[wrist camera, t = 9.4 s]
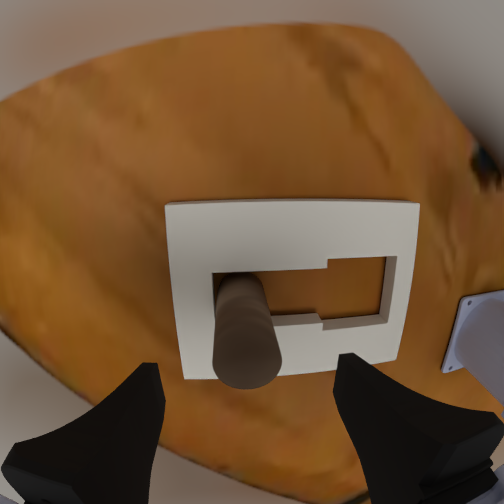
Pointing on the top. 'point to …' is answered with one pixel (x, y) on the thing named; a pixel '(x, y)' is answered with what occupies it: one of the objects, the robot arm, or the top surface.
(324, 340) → the keyhole plate
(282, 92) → the top surface
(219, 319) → the peg
